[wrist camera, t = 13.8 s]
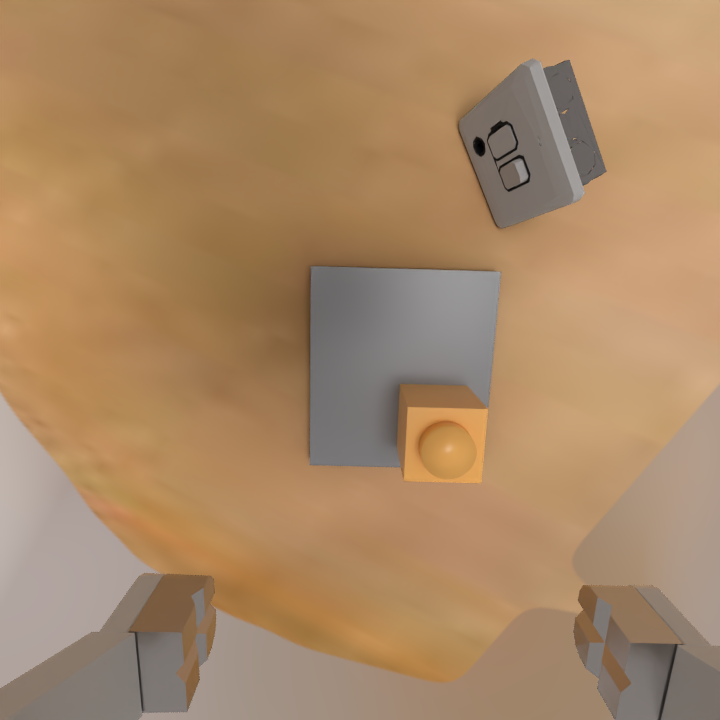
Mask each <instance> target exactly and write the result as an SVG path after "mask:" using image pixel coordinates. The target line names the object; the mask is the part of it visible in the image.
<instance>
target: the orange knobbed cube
mask: <svg viewBox="0 0 720 720" xmlns="http://www.w3.org/2000/svg"><path fill="white" fill-rule="evenodd" d="M487 416H488V408H487V407H486V406H485V405H484V404H483V403H482V402H481V401H480V399H479V398H478V397H477V396H476V395H475V394H474V393H473V392H472V390H471V389H470V388H469V387H468V386H462V385H425V384H400V390H399V411H398V431H397V451H398V456H399V461H400V465H401V470H402V475H403V480H404V481H419V482H459V483H481V480H482V469H483V459H484V448H485V438H486V427H487Z"/></svg>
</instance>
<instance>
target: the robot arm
mask: <svg viewBox="0 0 720 720" xmlns="http://www.w3.org/2000/svg"><path fill="white" fill-rule="evenodd" d="M214 593H215V587H214V579H213V577H212V576H203V575H183V574H154V573H144V574H142V575H140V576H139V577H138V578H137V579H136V581H135V582H134V584H133V585H132V586H131V588H130V589H129V591H128V592H127V593H126V595H125V597H124V598H123V599H122V601H121V602H120V603H119V605H118V606H117V608H116V609H115V610H114V612H113V613H112V615H111V616H110V618H109V619H108V620H107V622H106V623H105V625H104V626H103V627H102V629H101V630H100V632H91V633H90V634H88V635H86V636H84V637H83V638H81V639H80V640H78V641H77V642H75V643H73V644H72V645H70V646H68V647H67V648H65V649H64V650H62V651H60V652H59V653H57V654H55V655H54V656H52V657H51V658H49V659H47V660H46V661H44V662H42V663H41V664H39V665H38V666H36V667H34V668H33V669H31V670H30V671H28V672H26V673H25V674H23V675H21V676H20V677H18V678H17V679H15V680H13V681H12V682H10V683H8V684H7V685H5V686H4V687H2V688H0V720H138V719H139V718H140V717H141V716H142V713H152V712H153V713H154V712H187V711H188V709H189V706H190V703H191V701H192V698H193V696H194V693H195V690H196V688H197V685H198V683H199V680H200V679H199V678H200V677H199V666H201V665H202V664H203V663H204V662H205V661H206V660H207V659H208V656H209V654H210V651H211V648H212V644H213V639H214V634H215V628H216V609H215V608H214V607H213V606H212V605H211V600H212V598H213V595H214ZM578 602H579V603H580V605H581V606H582V608H583V611H582V612H581V613H580V614H579V615H578V616H577V617H576V618H575V624H574V638H575V645H576V648H577V651H578V654H579V657H580V659H581V660H582V662H583V664H584V666H585V668H586V669H587V670H589V671H590V672H591V673H592V674H594V675H595V676H596V677H598V678H599V680H598V686H597V689H598V691H599V693H600V695H601V696H602V698H603V700H604V702H605V703H606V705H607V707H608V709H609V710H610V712H611V714H612V716H613V718H614V719H615V720H720V646H711V645H710V644H709V642H708V641H707V640H706V639H705V638H704V637H703V636H702V635H701V634H700V633H699V632H698V631H697V630H696V629H695V627H694V626H693V625H692V624H691V623H690V622H689V621H688V620H687V619H686V618H685V617H684V616H683V614H682V613H681V612H680V611H679V610H678V609H677V608H676V607H675V606H674V605H673V604H672V603H671V602H670V601H669V600H668V598H667V597H666V596H665V595H664V594H663V593H662V592H661V591H660V590H659V589H658V588H656V587H654V586H653V585H629V586H610V585H583V586H582V588H581V589H580V592H579V597H578Z"/></svg>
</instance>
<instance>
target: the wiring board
mask: <svg viewBox="0 0 720 720" xmlns="http://www.w3.org/2000/svg"><path fill="white" fill-rule="evenodd" d="M500 279H501V272H496V271H463V270H429V269H396V268H362V267H328V266H311V330H310V465H330V466H369V467H401V465H400V461H399V456H398V451H397V431H398V411H399V390H400V384H425V385H462V386H468V387H469V388H470V389H471V390H472V392H473V393H474V394H475V395H476V396H477V397H478V398H479V399H480V401H481V402H482V403H483V404H484V405H485V406H486V407H487V408H488V404H489V394H490V383H491V373H492V362H493V352H494V341H495V331H496V320H497V310H498V300H499V289H500Z"/></svg>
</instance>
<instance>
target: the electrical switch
mask: <svg viewBox="0 0 720 720" xmlns="http://www.w3.org/2000/svg"><path fill="white" fill-rule="evenodd" d="M568 79H570V81H569V80H568ZM558 109H559V110H558ZM567 109H568V110H567ZM565 110H567V112H566V113H565V114H560V113H561V112H563V111H565ZM459 131H460V133H461V136H462V138H463V141H464V144H465V146H466V149H467V151H468V154H469V156H470V159H471V161H472V164H473V167H474V169H475V172H476V174H477V177H478V179H479V182H480V184H481V187H482V190H483V192H484V195H485V197H486V200H487V202H488V205H489V207H490V210H491V213H492V215H493V218H494V220H495V223H496V225H497V226H499V227H500V228H505V227H508V226H511V225H514V224H517V223H520V222H522V221H525V220H528V219H531V218H534V217H536V216H539V215H542V214H545V213H547V212H550V211H553V210H556V209H558V208H561V207H564V206H567V205H569V204H572V203H574V202H577V201H579V200H580V199H581V198H582V196H583V195H584V194H585V191H584V188H583V185H586V184H588V183H589V182H590V181H591V180H593V179H595V178H596V177H598V176H600V175H602V174H603V173H605V172H606V169H605V166H604V163H603V160H602V157H601V154H600V151H599V148H598V145H597V142H596V139H595V136H594V133H593V130H592V127H591V124H590V121H589V118H588V115H587V111H586V108H585V105H584V102H583V99H582V96H581V93H580V90H579V87H578V84H577V81H576V78H575V75H574V72H573V69H572V66H571V63H570V60H566V61H564V62H562V63H559V64H557V65H555V66H550V67H546V68H544V69H543V68H542V65H541V62H540V61H538V60H535V59H530V60H528V61H526V62H524V63H522V64H521V65H520V66H519V67H517V68H516V69H515V70H514V71H513V72H512V73H511V74H510V75H509V76H508V77H507V78H505V79H504V80H503V81H502V82H501V83H500V84H499V85H498V86H497V87H496V88H495V89H493V90H492V91H491V92H490V93H489V94H488V95H487V96H486V97H485V98H484V99H483V100H481V101H480V102H479V103H478V104H477V105H476V106H475V107H474V108H473V109H472V110H471V111H470V112H468V113H467V114H466V115H465V116H464V117H463V118H462V119H461V120H460V123H459ZM573 138H576V139H574V140H573ZM581 141H582V142H581ZM579 142H580V143H579ZM571 148H572V149H571ZM570 149H571V150H570ZM594 151H595V153H594ZM592 168H593V169H592ZM591 169H592V170H591Z"/></svg>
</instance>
